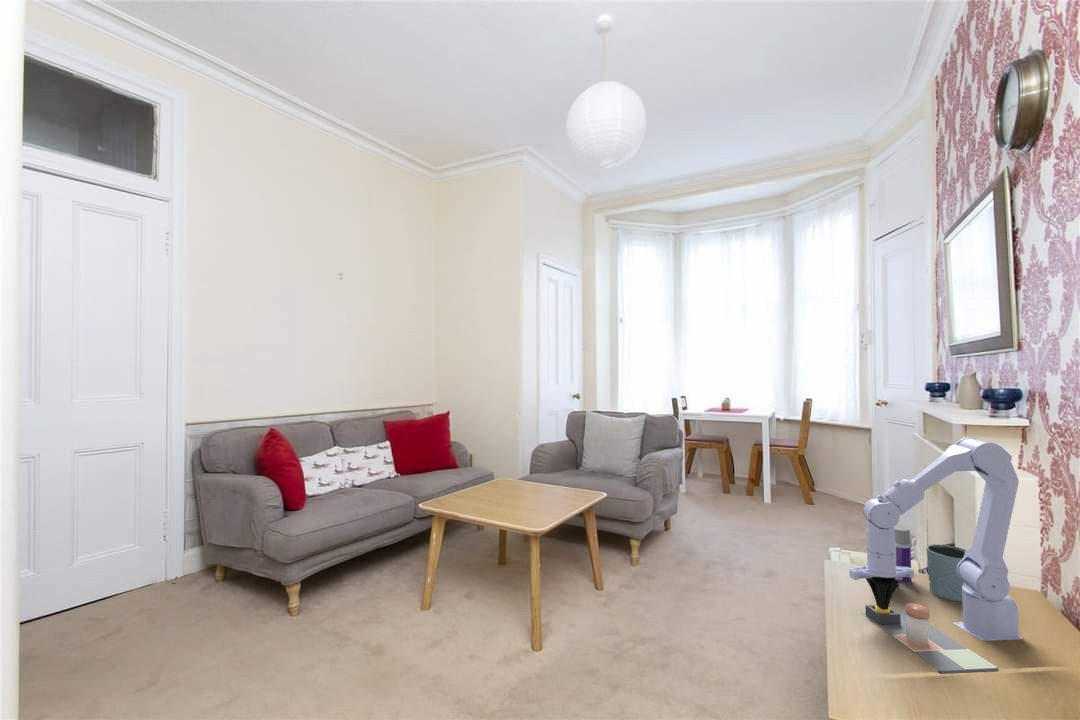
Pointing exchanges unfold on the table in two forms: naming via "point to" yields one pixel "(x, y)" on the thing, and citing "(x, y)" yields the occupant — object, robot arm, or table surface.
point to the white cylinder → (917, 624)
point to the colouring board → (941, 650)
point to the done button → (882, 610)
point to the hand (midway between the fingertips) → (882, 607)
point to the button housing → (883, 616)
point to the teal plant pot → (945, 571)
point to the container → (903, 550)
